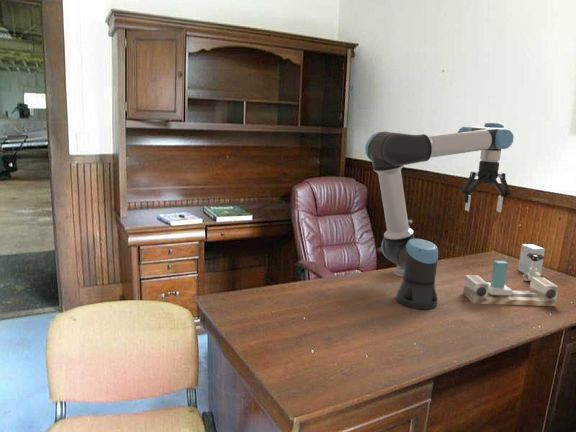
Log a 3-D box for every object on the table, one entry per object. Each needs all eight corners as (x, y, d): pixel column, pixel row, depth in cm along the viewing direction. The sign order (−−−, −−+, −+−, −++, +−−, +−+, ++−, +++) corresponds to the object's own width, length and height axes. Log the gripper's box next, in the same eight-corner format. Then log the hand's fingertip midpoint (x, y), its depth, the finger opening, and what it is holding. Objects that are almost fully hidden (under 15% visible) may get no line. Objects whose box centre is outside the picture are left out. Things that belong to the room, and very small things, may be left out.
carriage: (490, 296, 175) (495, 264, 173) (481, 288, 183) (486, 258, 180) (511, 297, 176) (516, 265, 173) (501, 289, 183) (506, 259, 181)
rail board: (473, 303, 174) (476, 284, 173) (462, 293, 185) (465, 274, 183) (555, 306, 175) (559, 287, 173) (540, 296, 185) (543, 277, 184)
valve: (519, 278, 205) (523, 253, 202) (531, 277, 207) (535, 252, 204) (531, 284, 199) (535, 257, 196) (543, 283, 201) (547, 257, 198)
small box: (541, 275, 211) (545, 248, 208) (529, 276, 209) (534, 249, 206) (528, 269, 218) (532, 243, 216) (517, 270, 217) (521, 244, 214)
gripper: (514, 161, 191) (507, 210, 196) (456, 158, 190) (450, 208, 195) (524, 162, 184) (516, 214, 188) (463, 160, 183) (456, 211, 188)
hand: (482, 211), depth 192 cm, fingers open, 13 cm apart
